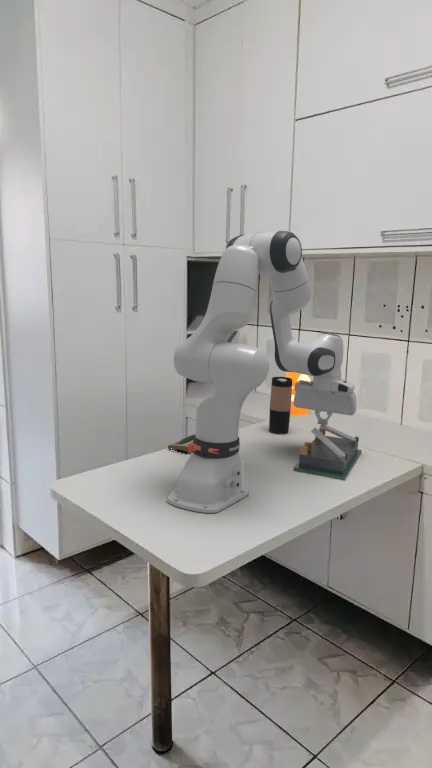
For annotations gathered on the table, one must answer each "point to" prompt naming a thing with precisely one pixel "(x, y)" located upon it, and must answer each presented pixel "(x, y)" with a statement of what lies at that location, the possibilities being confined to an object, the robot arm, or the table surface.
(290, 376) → the orange juice
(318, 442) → the dark piece
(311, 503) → the table surface
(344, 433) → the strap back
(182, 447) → the computer
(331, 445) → the strap front
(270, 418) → the travel mug
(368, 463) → the table surface
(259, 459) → the table surface
